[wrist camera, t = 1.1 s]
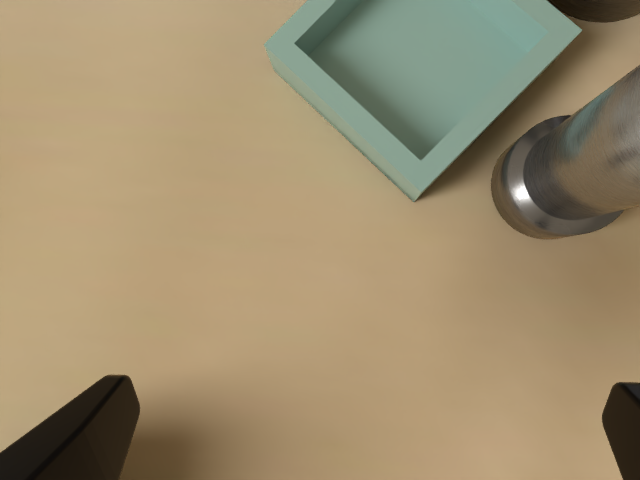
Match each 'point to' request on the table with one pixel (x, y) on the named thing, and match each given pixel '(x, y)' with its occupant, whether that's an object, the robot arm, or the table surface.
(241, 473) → the table surface
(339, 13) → the tray
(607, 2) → the calibration weight
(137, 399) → the robot arm
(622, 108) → the grey cylindrical piece
